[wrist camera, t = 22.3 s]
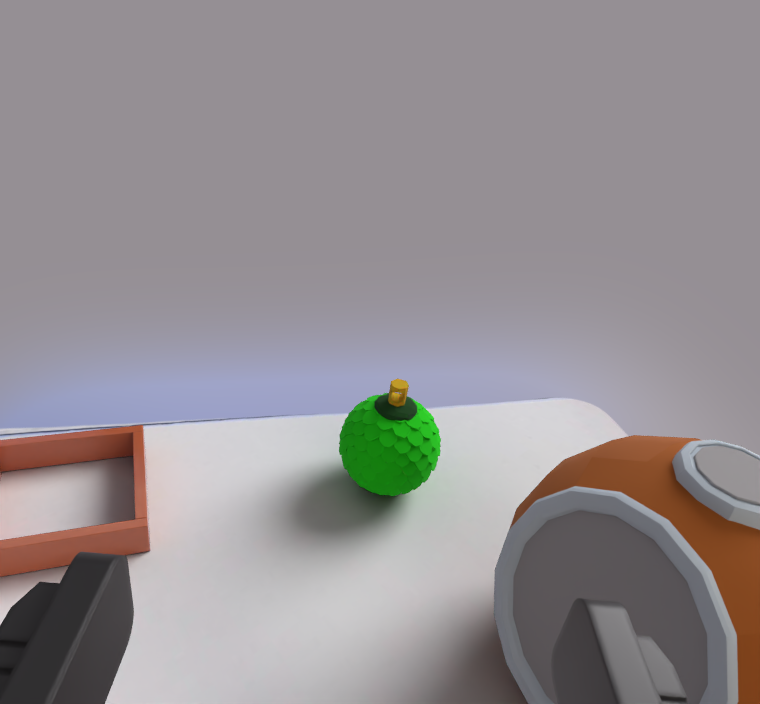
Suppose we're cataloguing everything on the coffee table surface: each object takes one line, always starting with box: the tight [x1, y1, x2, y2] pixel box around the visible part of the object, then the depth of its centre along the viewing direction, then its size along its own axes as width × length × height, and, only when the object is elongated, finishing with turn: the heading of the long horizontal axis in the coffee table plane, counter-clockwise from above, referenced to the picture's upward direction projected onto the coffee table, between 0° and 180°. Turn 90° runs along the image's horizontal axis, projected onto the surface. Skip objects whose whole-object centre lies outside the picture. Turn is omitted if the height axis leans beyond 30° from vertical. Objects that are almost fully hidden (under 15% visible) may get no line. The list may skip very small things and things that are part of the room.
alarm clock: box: [494, 435, 760, 704], centre depth 35 cm, size 19×18×17 cm
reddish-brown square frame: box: [0, 425, 150, 577], centre depth 45 cm, size 11×11×2 cm
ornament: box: [339, 379, 441, 496], centre depth 49 cm, size 8×8×10 cm
